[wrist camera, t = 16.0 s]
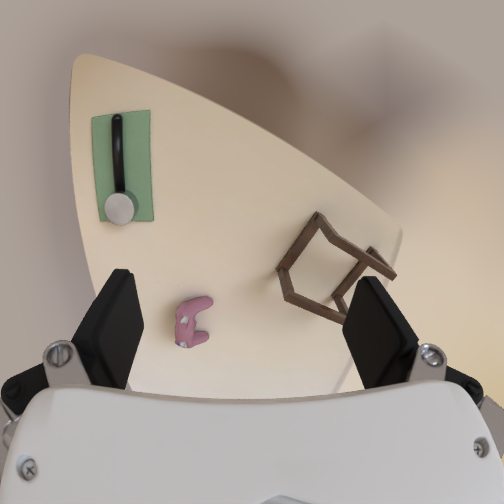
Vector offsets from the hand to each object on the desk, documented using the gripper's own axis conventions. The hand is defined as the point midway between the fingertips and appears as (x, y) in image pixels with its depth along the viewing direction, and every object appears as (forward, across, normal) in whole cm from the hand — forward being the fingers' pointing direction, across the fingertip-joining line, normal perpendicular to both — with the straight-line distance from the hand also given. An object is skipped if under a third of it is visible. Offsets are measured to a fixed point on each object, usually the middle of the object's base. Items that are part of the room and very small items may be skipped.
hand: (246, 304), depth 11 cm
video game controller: (+28, +7, +26) cm, 39 cm away
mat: (+28, +17, 0) cm, 33 cm away
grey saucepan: (+28, +17, 0) cm, 32 cm away
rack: (+28, -15, +14) cm, 35 cm away
